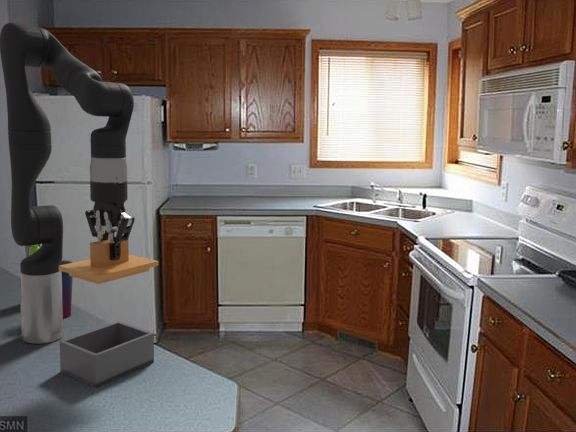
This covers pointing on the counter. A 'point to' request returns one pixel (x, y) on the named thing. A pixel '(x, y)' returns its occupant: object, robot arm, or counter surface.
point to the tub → (106, 353)
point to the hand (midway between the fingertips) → (110, 258)
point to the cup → (66, 291)
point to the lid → (107, 264)
